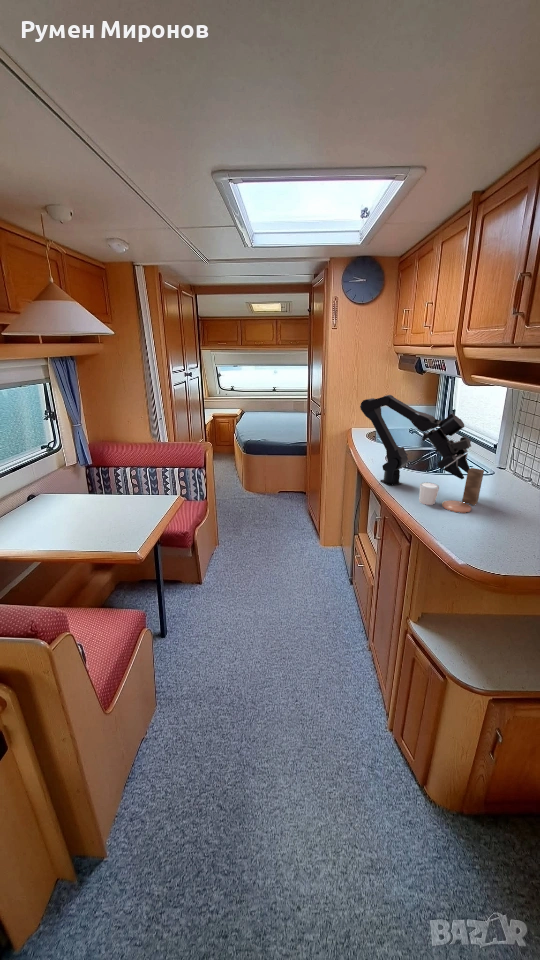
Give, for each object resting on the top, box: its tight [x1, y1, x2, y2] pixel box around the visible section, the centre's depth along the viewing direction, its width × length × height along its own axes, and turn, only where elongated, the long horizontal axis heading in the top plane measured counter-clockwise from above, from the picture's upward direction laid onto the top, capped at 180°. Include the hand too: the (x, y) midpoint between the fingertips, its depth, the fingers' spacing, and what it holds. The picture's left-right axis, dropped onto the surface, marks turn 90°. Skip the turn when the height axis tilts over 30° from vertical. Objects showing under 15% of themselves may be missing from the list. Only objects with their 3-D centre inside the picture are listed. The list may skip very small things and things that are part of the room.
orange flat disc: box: [441, 500, 472, 514], centre depth 148 cm, size 10×10×1 cm
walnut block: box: [461, 467, 485, 506], centre depth 151 cm, size 4×4×13 cm
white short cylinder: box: [418, 481, 440, 506], centre depth 152 cm, size 7×7×7 cm
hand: (466, 475), depth 152 cm, fingers open, 9 cm apart
